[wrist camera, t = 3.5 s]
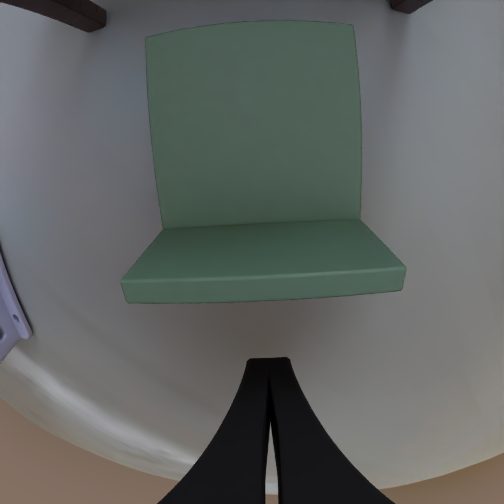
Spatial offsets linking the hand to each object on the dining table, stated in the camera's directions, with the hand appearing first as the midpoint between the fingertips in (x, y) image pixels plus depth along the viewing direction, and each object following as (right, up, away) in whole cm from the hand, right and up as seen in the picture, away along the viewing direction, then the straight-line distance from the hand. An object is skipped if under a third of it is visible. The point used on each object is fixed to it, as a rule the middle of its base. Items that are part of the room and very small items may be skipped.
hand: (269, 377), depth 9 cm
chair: (0, +8, -1) cm, 8 cm away
